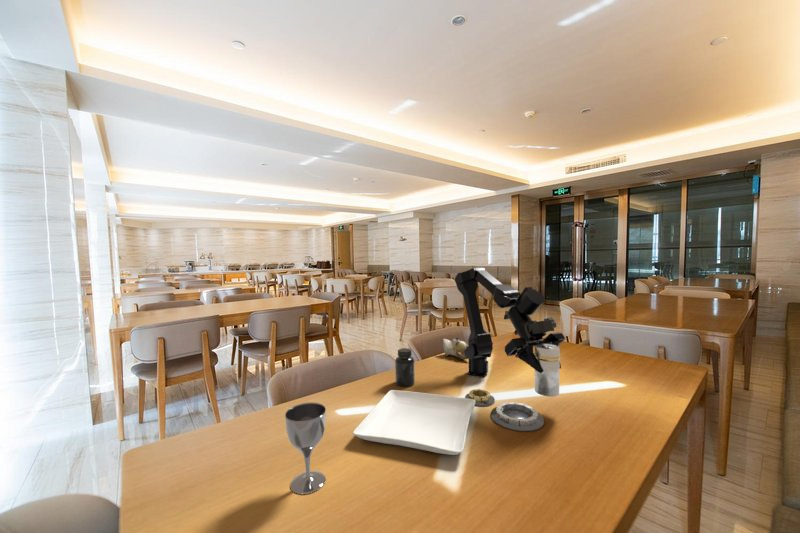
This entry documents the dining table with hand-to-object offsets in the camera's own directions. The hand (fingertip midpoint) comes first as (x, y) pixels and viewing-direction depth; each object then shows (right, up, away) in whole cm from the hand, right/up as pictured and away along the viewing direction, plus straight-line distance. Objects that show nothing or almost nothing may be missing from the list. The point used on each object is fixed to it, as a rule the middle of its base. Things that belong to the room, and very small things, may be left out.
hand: (550, 370), depth 94 cm
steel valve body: (0, -7, +2) cm, 7 cm away
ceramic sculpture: (-17, -11, +53) cm, 57 cm away
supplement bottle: (-40, -13, +25) cm, 49 cm away
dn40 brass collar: (-17, -13, +11) cm, 24 cm away
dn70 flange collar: (-10, -13, -1) cm, 16 cm away
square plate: (-37, -14, -4) cm, 40 cm away
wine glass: (-61, -16, -25) cm, 68 cm away
